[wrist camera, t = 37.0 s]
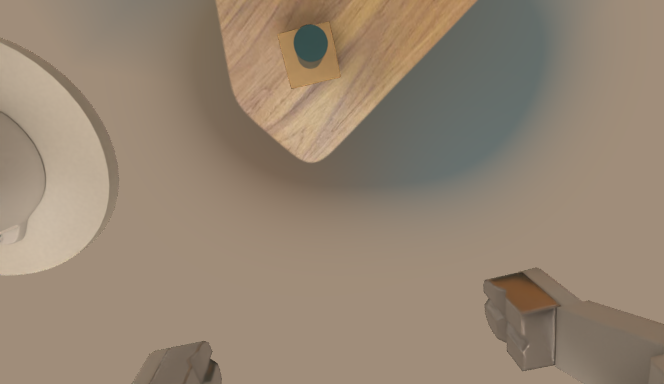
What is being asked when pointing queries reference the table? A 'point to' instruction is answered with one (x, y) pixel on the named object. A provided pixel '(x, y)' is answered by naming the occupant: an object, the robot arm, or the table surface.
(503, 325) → the robot arm
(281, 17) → the table surface
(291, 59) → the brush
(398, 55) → the table surface
